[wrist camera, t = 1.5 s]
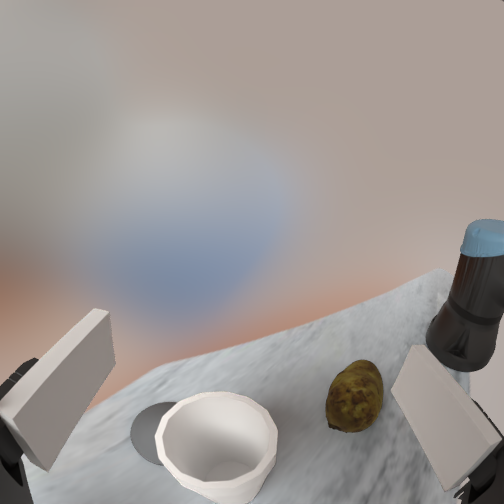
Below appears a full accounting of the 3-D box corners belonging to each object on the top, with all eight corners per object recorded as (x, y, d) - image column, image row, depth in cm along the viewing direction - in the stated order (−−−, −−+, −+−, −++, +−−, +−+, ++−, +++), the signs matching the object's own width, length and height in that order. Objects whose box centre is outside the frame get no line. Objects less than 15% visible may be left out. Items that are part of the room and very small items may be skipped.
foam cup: (222, 439, 28) (205, 376, 23) (289, 471, 24) (299, 417, 19) (174, 490, 21) (131, 442, 16) (243, 531, 17) (230, 511, 11)
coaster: (212, 410, 33) (211, 407, 33) (198, 472, 24) (197, 470, 23) (145, 400, 34) (143, 397, 33) (122, 454, 25) (120, 452, 24)
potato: (398, 394, 32) (416, 356, 29) (347, 456, 25) (365, 425, 21) (355, 370, 38) (365, 331, 35) (298, 422, 30) (304, 386, 27)
